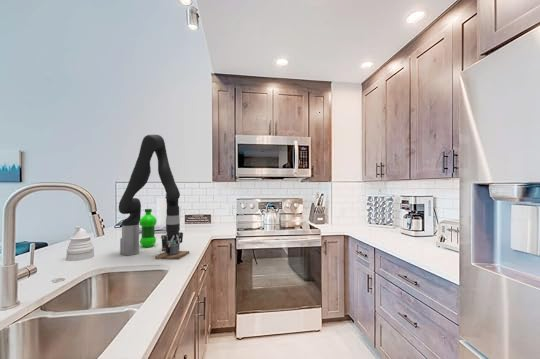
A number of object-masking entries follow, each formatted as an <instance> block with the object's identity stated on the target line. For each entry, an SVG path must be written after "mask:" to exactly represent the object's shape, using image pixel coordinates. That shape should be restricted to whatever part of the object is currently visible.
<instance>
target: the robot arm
mask: <svg viewBox="0 0 540 359" xmlns="http://www.w3.org/2000/svg"><path fill="white" fill-rule="evenodd" d="M154 153H155V155H156V158H157V171H158V173H157V174H158V176H159V179H160V181H161V185H162V186H163V187H164V191H165V193H166V194H165V199H166V200H165V201H166V217H165V218H166V219H165V231H166V234H167V235H166V234H165V235H166V236H162V238H161V243H162V242H163V246H165V247H166V253H167V254H169V253H170V245H171V243H172V241H175V243H178V246H179V247H180V244H182V243H183V238H184V232H180V230H181V229H180V227H181V225H180V222H181V217H180V206H179V198H180V196H181V194H180V190H179V188H178V185H177V184H176V181H175V178H174V174H173V173H172V169H171V167H170V163H169V159H168V154H167V148H166V142H165V140H164V137H163V136H162V135H160V134H147V135H145V136H143V139H142V141H141V144H140V148H139V152H138V157H137V160H136V161H135V164H134V168H133V170H132V172H131V174H130V177H129V180H128V183H127V186H126V188H125V189H124V192H123V194H122V196H121V198H120V201H119V202H118V211H119V213H120V214H122V215H128V217H126V218H125V219H123V220H121V237H120V240H119V242H120V243H119V248H120V249H119V250H120V251H119V255H121V256H133V255H137V254H139V253H140V219H141V212H142V203H141V201H140V199H139V198H137V197H135V196H136V194H137V193H138V192H139V191H140V190H141V189H143V188H144V187H145V185H146V184H147V183H148V181H149V179H150V176H151V170H152V169H151V168H152V167H151V159H152V157H153V155H154ZM168 243H169V244H168Z"/></svg>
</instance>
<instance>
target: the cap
mask: <svg viewBox="0 0 540 359" xmlns="http://www.w3.org/2000/svg"><path fill="white" fill-rule="evenodd" d="M179 251H180V245H179V246H178V243H171V245H170V253H169V254H168V255H174V254H178V253H179Z"/></svg>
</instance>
